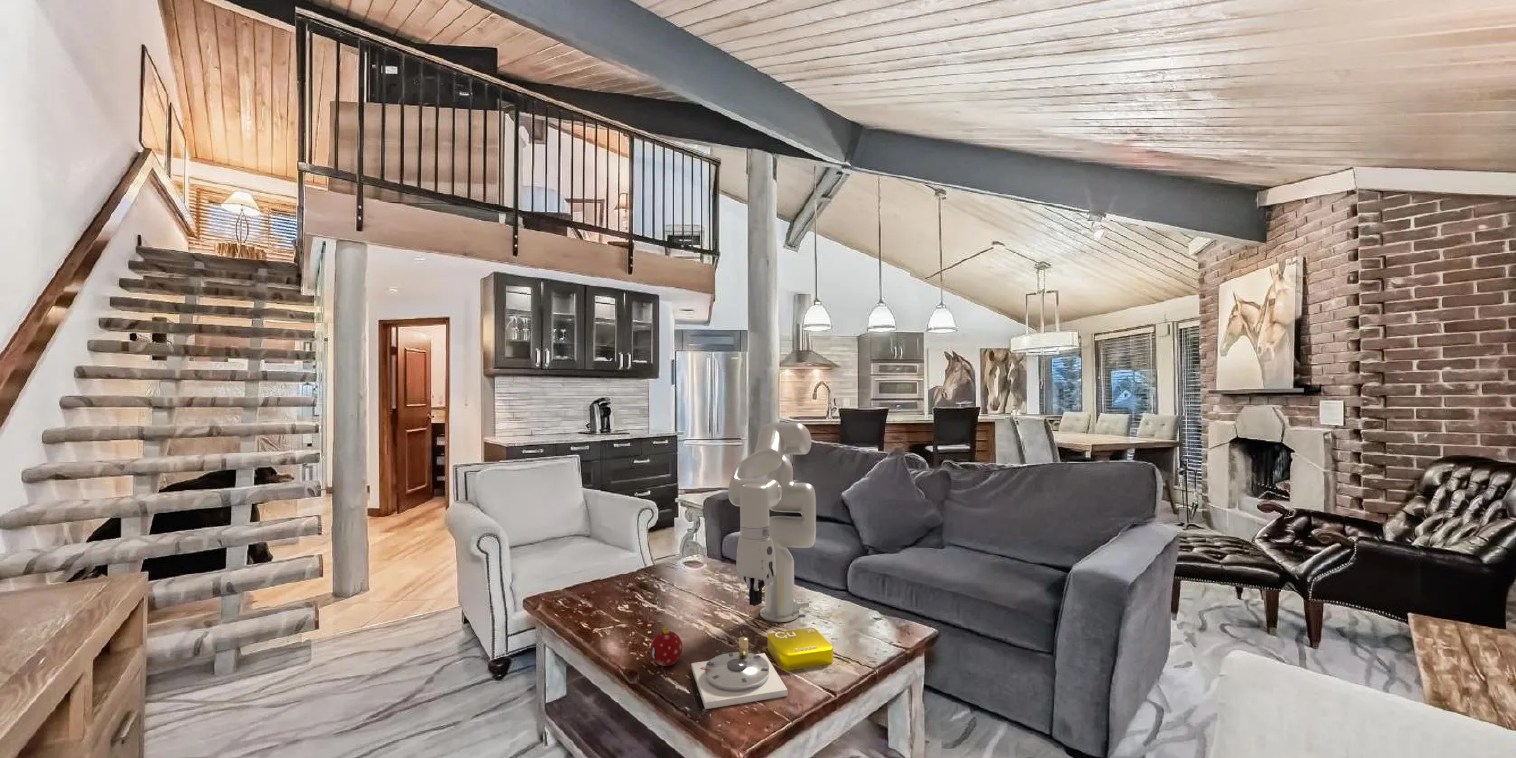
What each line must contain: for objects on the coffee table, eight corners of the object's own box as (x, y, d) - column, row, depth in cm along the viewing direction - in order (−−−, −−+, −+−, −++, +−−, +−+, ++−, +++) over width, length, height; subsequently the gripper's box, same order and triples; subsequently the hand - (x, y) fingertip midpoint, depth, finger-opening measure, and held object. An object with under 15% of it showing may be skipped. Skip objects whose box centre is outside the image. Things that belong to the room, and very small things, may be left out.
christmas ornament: (689, 664, 160) (688, 627, 160) (662, 675, 154) (661, 636, 154) (670, 653, 166) (670, 618, 166) (644, 664, 160) (643, 627, 160)
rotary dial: (760, 694, 140) (759, 667, 140) (696, 686, 144) (695, 659, 144) (775, 663, 156) (775, 638, 156) (717, 656, 160) (716, 632, 160)
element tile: (782, 673, 155) (782, 654, 155) (765, 648, 170) (765, 631, 170) (835, 664, 160) (835, 646, 160) (814, 641, 174) (814, 624, 174)
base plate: (764, 658, 162) (764, 652, 162) (787, 695, 143) (787, 688, 143) (691, 668, 157) (691, 662, 157) (705, 709, 138) (705, 701, 138)
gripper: (786, 533, 152) (787, 606, 152) (742, 525, 161) (743, 593, 161) (768, 540, 146) (769, 615, 146) (723, 530, 155) (724, 601, 155)
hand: (755, 603), depth 153 cm, fingers closed
